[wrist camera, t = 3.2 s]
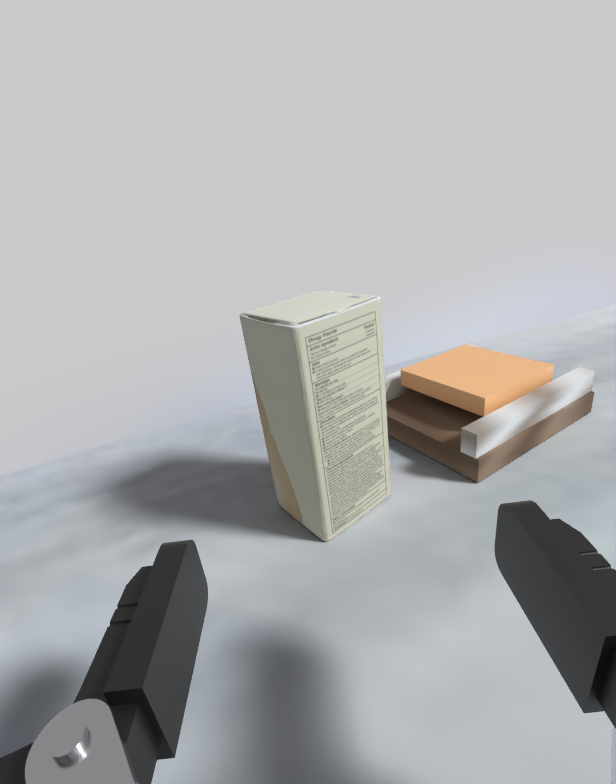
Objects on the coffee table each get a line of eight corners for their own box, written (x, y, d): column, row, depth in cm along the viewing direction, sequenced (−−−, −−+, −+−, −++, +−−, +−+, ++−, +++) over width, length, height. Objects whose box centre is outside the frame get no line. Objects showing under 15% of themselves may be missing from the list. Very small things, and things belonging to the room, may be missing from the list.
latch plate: (483, 416, 24) (485, 398, 23) (400, 385, 29) (400, 369, 28) (551, 381, 27) (553, 364, 26) (465, 359, 32) (465, 344, 32)
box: (340, 465, 25) (323, 287, 21) (394, 495, 22) (387, 293, 18) (272, 506, 22) (234, 310, 18) (322, 548, 19) (292, 322, 15)
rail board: (477, 483, 22) (480, 436, 21) (361, 420, 30) (359, 384, 29) (590, 411, 28) (598, 371, 26) (467, 374, 36) (468, 342, 34)
